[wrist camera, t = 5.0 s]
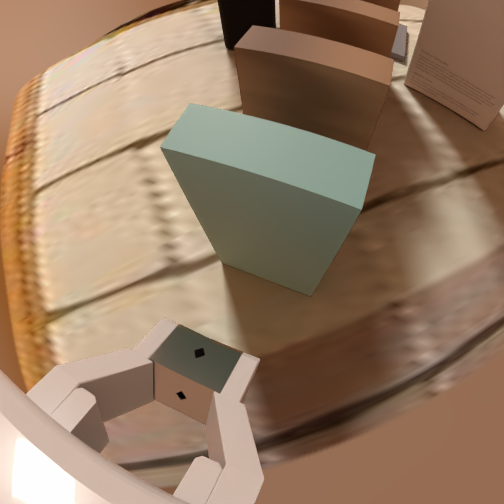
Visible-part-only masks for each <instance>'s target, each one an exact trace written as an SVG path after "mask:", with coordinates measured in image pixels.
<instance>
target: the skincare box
mask: <svg viewBox="0 0 504 504" xmlns="http://www.w3.org/2000/svg"><path fill="white" fill-rule="evenodd" d="M404 84H405V85H407V86H409V87H411V88H413V89H415V90H417V91H419V92H421V93H423V94H424V95H426V96H428V97H430V98H432V99H434V100H435V101H437V102H439V103H441V104H442V105H444V106H446V107H448V108H449V109H451V110H453V111H454V112H456V113H457V114H459V115H461V116H462V117H464V118H465V119H467V120H469V121H470V122H472V123H473V124H475V125H476V126H478V127H479V128H481V129H482V130H484V131H485V130H486V129H487V128H488V127H489V125H490V124H491V122H492V121H493V120H494V118H495V117H496V115H497V114H498V112H499V111H500V109H501V107H502V106H503V104H504V0H428V4H427V8H426V11H425V15H424V19H423V22H422V26H421V29H420V33H419V36H418V39H417V43H416V46H415V49H414V52H413V56H412V59H411V62H410V65H409V68H408V71H407V75H406V78H405V81H404Z"/></svg>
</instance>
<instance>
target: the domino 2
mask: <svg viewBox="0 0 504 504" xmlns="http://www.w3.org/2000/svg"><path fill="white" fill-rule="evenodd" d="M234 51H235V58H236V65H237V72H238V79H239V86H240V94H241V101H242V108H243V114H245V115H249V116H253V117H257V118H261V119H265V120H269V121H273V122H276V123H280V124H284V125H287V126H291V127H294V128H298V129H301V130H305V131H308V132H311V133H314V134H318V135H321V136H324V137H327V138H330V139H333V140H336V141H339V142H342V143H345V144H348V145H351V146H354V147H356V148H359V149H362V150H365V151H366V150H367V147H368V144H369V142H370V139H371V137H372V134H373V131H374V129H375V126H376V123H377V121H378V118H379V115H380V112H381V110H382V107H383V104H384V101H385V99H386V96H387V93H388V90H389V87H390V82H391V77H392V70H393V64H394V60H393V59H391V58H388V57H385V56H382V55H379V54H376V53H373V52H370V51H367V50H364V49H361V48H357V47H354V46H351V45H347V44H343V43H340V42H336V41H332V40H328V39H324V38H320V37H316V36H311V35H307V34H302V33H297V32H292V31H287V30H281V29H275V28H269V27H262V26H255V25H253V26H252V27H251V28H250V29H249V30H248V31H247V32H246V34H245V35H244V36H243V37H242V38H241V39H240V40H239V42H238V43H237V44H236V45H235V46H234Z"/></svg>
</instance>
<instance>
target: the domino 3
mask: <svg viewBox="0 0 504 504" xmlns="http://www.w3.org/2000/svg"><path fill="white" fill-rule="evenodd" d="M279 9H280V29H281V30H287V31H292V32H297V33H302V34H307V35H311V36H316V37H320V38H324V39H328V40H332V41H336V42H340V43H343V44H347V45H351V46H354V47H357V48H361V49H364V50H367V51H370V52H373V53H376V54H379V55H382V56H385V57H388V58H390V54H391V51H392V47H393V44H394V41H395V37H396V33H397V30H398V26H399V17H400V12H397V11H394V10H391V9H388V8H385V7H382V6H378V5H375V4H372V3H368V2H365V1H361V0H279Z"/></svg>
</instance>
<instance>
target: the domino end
mask: <svg viewBox="0 0 504 504" xmlns="http://www.w3.org/2000/svg"><path fill="white" fill-rule="evenodd" d="M160 148H161V150H162V152H163V154H164V156H165V158H166V160H167V162H168V164H169V165H170V167H171V169H172V171H173V173H174V175H175V177H176V179H177V181H178V183H179V185H180V187H181V188H182V190H183V192H184V194H185V196H186V198H187V200H188V202H189V203H190V205H191V207H192V209H193V211H194V213H195V215H196V217H197V218H198V220H199V222H200V224H201V226H202V228H203V230H204V231H205V233H206V235H207V237H208V239H209V241H210V242H211V244H212V246H213V248H214V250H215V251H216V253H217V255H218V257H219V259H220V261H221V262H222V263H224V264H227V265H229V266H232V267H234V268H237V269H240V270H242V271H245V272H247V273H250V274H253V275H255V276H258V277H260V278H263V279H266V280H268V281H271V282H274V283H276V284H279V285H282V286H284V287H287V288H290V289H292V290H295V291H298V292H300V293H303V294H306V295H308V296H312V294H313V292H314V291H315V289H316V288H317V286H318V284H319V283H320V281H321V279H322V278H323V276H324V274H325V273H326V271H327V269H328V268H329V266H330V264H331V263H332V261H333V259H334V258H335V256H336V254H337V253H338V251H339V249H340V247H341V246H342V244H343V242H344V240H345V239H346V237H347V235H348V233H349V232H350V230H351V228H352V226H353V225H354V223H355V221H356V219H357V217H358V216H359V214H360V212H361V210H362V207H363V203H364V200H365V196H366V192H367V188H368V184H369V180H370V177H371V172H372V168H373V164H374V160H375V156H376V155H375V154H373V153H370V152H367V151H365V150H362V149H359V148H356V147H354V146H351V145H348V144H345V143H342V142H339V141H336V140H333V139H330V138H327V137H324V136H321V135H318V134H314V133H311V132H308V131H305V130H301V129H298V128H294V127H291V126H287V125H284V124H280V123H276V122H273V121H269V120H265V119H261V118H257V117H253V116H249V115H245V114H240V113H236V112H232V111H227V110H222V109H218V108H213V107H208V106H203V105H197V104H192V103H190V104H189V105H188V107H187V108H186V109H185V111H184V112H183V114H182V115H181V117H180V118H179V119H178V121H177V122H176V124H175V125H174V127H173V128H172V130H171V131H170V133H169V134H168V136H167V137H166V139H165V140H164V142H163V143H162V145H161V146H160Z"/></svg>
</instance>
